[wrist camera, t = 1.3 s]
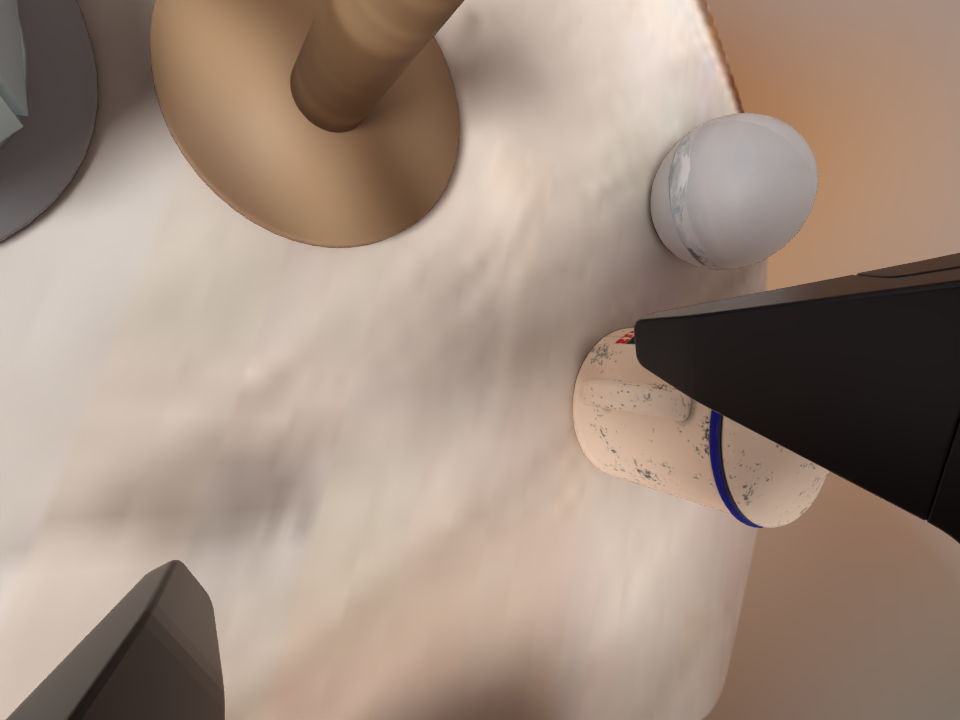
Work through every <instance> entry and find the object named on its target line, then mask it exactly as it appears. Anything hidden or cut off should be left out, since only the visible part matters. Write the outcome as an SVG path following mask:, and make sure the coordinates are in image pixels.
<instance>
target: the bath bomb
mask: <svg viewBox="0 0 960 720" xmlns="http://www.w3.org/2000/svg"><path fill="white" fill-rule="evenodd" d="M817 187H818V171H817V166H816V161H815V158H814V155H813V153H812V151H811V149H810V148H809V146H808V144H807V142H806V141H805V139H804V138H803V137H802V136H801V135H800V134H799V133H798V132H796V130H794V129H793V128H792V127H791V126H790V125H788V124H786V123H784V122H782V121H780V120H778V119H776V118H773V117H771V116H767V115H760V114H753V113H739V114H731V115H727V116H723V117H720V118H717V119H713V120H710V121H708V122H706V123H704V124H702V125H700V126H699V127H697V128H695V129H694V130H692V131H691V132H689V133H688V134H687V135H686V136H684V137H683V138H682V139H681V140H679V141H678V142H677V144H676V145H675V146H674V147H673V148H672V149H671V151H670V152H669V153H668V154H667V156H666V157H665V158H664V160H663V162H662V164H661V165H660V167H659V169H658V172H657V174H656V176H655V179H654V182H653V185H652V191H651V206H650V207H651V216H652V220H653V224H654V226H655V229H656V231H657V233H658V235H659V237H660V239H661V241H662V242H663V243H664V245H665V246H666V247H667V248H668V249H669V250H670V251H672V252H673V253H674V254H675V255H676V256H677V257H678V258H680V259H682V260H684V261H686V262H688V263H690V264H692V265H695V266H698V267H703V268H708V269H714V270H730V269H736V268H741V267H745V266H749V265H753V264H755V263H757V262H759V261H762V260H764V259H766V258H768V257H770V256H771V255H773V254H774V253H776V252H777V251H778V250H780V249H782V248H783V247H784V246H785V245H786V244H787V243H788V242H789V241H790V240H791V239H792V238H793V237H794V236H795V235H796V234H797V233H798V232H799V231H800V229H801V227H802V226H803V224H804V223H805V221H806V219H807V218H808V216H809V214H810V213H811V210H812V207H813V204H814V200H815V196H816V193H817Z"/></svg>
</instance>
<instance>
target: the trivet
mask: <svg viewBox="0 0 960 720" xmlns="http://www.w3.org/2000/svg"><path fill="white" fill-rule="evenodd" d="M17 5H18V15H19V18H20V21H21V24H22V27H23V30H24V33H25V38H26V44H27V49H28V55H29V88H28V94H27V108H28V116H21V118H20V123H21V124H22V125H23V127H22V128H21V129H19V130H18V131H16V132H15V133H13V134H12V136H11V138H10V139H9V141H8V143H7V144H6V145H5V147H4V148H3V149H2V150H1V151H0V242H2V241H3V240H5V239H7V238H8V237H10V236H11V235H13V234H14V233H16V232H17V231H19V230H21V229H22V228H24V227H25V226H27V225H28V224H30V223H31V222H32V221H33V220H35V219H36V218H37V217H38V216H39V215H40V214H41V213H43V212H44V211H45V210H46V209H47V208H48V207H49V206H51V205H52V204H53V203H54V201H55V200H56V199H57V198H58V197H59V195H60V194H61V193H62V192H63V191H64V189H65V188H66V187H67V186H68V185H69V183H70V182H71V181H72V179H73V177H74V175H75V174H76V172H77V170H78V168H79V167H80V165H81V163H82V161H83V160H84V158H85V155H86V152H87V149H88V146H89V144H90V141H91V138H92V135H93V132H94V126H95V120H96V114H97V107H98V78H97V72H96V65H95V59H94V53H93V48H92V45H91V42H90V38H89V35H88V32H87V29H86V26H85V22H84V19H83V16H82V13H81V10H80V8H79V6H78V4H77V1H76V0H17Z"/></svg>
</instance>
